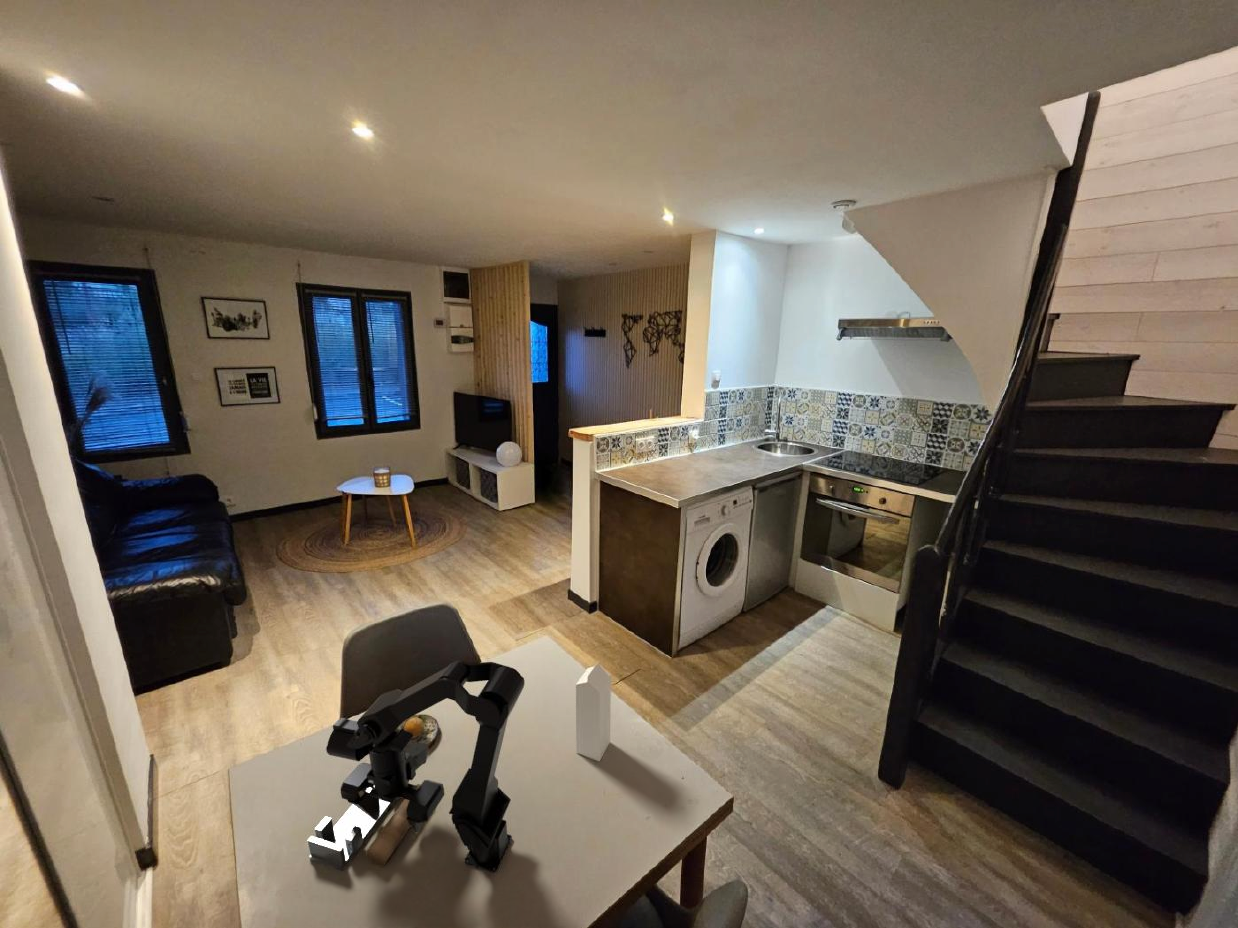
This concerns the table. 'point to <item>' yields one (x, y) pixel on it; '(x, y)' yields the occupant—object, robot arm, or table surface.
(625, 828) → the table surface
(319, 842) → the cradle
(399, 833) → the cylinder
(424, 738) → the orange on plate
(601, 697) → the milk
